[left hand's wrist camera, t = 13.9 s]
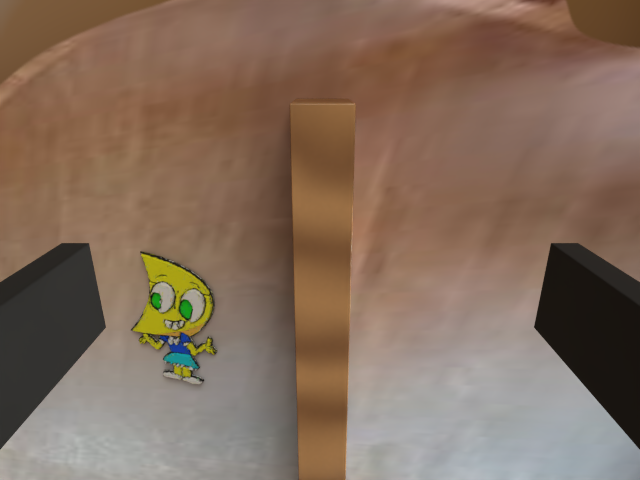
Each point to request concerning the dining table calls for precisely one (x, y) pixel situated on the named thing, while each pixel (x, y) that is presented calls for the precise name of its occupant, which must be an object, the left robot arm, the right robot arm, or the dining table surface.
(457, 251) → the dining table surface
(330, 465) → the post
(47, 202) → the dining table surface
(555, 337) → the left robot arm
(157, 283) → the toy
